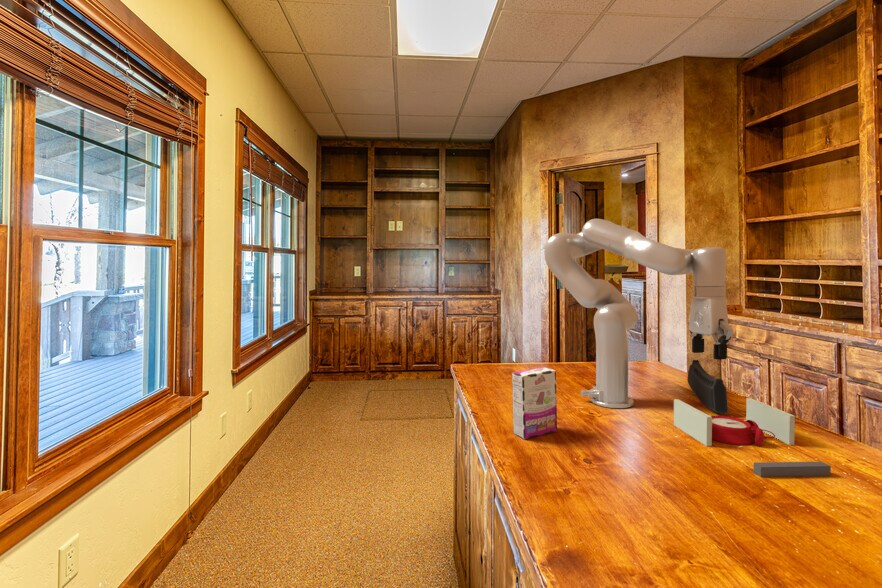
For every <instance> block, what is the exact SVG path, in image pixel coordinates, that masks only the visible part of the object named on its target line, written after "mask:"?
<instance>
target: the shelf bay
mask: <svg viewBox="0 0 882 588" xmlns="http://www.w3.org/2000/svg"><path fill="white" fill-rule="evenodd" d="M745 405H746V406H745V407H746V409H745V410H746V412H745V414H746V416H745V419H743V420H744V421H747V420H752V421H754V422H756V423H757V425H758V427H759V428H761V429H763V430H767V431H770V432H772V433H773V434H774V435H775V438H774V439H776V438H777V440H778V439H779V441H781V442H782V443H784V444H787V445H789V446H795V432H796V431H795V427H796V425H795V423H796V421H795V420H796V416H795V415H793V414H791V413H789V412H787V411H784V410H781V409H779V408H776V407H773V406H771V405H769V404H766V403H764V402H761V401H759V400H756V399H754V398H751V397H750V398H748V397H746V403H745ZM711 416H712V415H709V414H707V413H705V412H703V411H702V410H699V409H698V408H695V407H694V406H692V405H690V404H688V403H687V402H684V401H682V400H680V399H678V398H675V399H673V426H675V427H677V428H678V429H680V430H681V431H682V432H684V433H685V434H687V435H688V436H690V437H691V438H693V439H695V440H696V441H698V442H699V443H701V444H703V445H704V446H705V447H712V446H713V445H712V444H713V443H712V441H713V439H712V417H711ZM767 431H763V432H765V433H764V434H766V433H767V434H766V435H768V434H769V436H770V435H771V436H770V437H772V436H773V437H774V435H773V434H772V433H770V432H767Z"/></svg>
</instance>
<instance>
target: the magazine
mask: <svg viewBox="0 0 882 588" xmlns="http://www.w3.org/2000/svg"><path fill="white" fill-rule="evenodd" d="M723 380H724V379H722V378H715V377H714V376H712V375H710V374H709V373H708V372H707V371H706V370H705V369H704V368H703V367H702V364H701V363H700V360H699V359H692V362H691V364H690V365H689V368H688V371H687V380H686V381H687V383H688V385H689V387H690V389H691V390H692V392H693V394H694V396H696V398H697V399H698V400H699V402H701V404H702V405H704V406H705V407H706V408H708V409H710V410H711V411H713V412H714V413H716V414H729V407H728V406H729V405H728V403H729V402H728V393H727V387H726V385H725V384H724V381H723Z"/></svg>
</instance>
